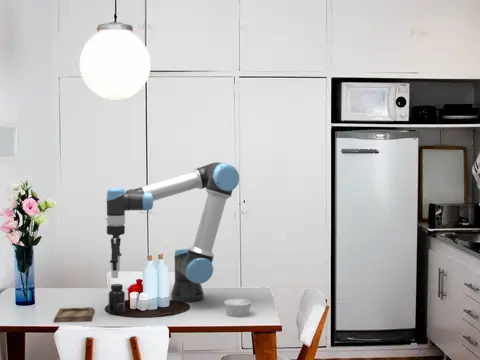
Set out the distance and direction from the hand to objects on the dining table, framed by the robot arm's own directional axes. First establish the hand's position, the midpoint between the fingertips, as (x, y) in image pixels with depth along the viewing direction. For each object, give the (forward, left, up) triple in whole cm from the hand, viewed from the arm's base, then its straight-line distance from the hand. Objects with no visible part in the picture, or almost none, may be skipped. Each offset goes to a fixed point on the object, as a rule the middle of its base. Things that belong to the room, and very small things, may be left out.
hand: (115, 274), depth 306 cm
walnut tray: (+17, +5, -16) cm, 24 cm away
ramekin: (-51, +7, -17) cm, 54 cm away
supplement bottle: (0, 0, -17) cm, 17 cm away
